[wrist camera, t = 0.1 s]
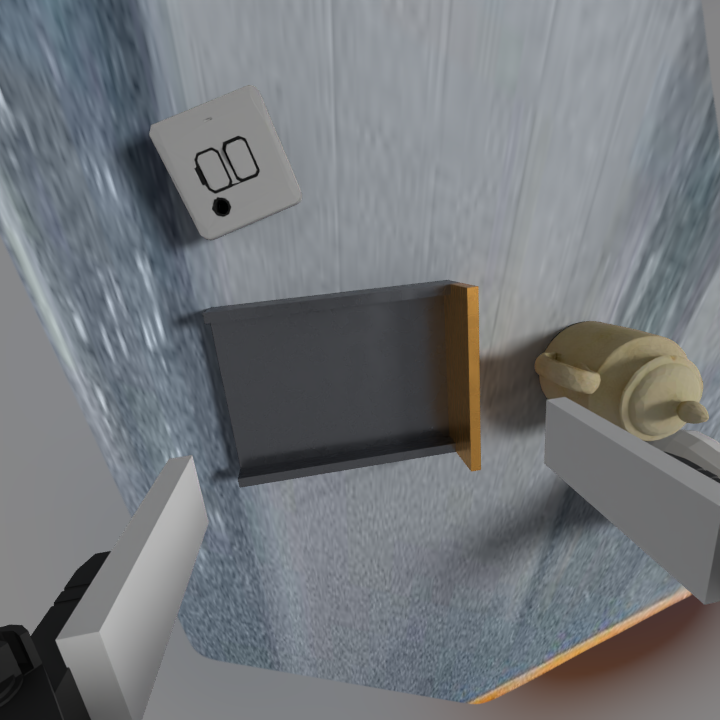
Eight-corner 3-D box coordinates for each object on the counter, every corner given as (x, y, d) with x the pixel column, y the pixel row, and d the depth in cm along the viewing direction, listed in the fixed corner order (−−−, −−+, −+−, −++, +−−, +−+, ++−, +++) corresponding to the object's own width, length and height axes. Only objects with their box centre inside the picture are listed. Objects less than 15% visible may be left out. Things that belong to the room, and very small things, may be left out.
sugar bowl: (511, 428, 47) (602, 506, 33) (501, 341, 44) (597, 385, 30) (625, 397, 48) (761, 459, 34) (624, 309, 45) (773, 337, 31)
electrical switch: (204, 245, 34) (138, 125, 29) (211, 236, 38) (155, 131, 34) (306, 203, 34) (256, 77, 29) (301, 198, 38) (257, 89, 34)
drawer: (211, 307, 39) (190, 320, 32) (447, 279, 41) (478, 286, 34) (244, 469, 44) (233, 512, 37) (453, 435, 46) (480, 469, 39)
